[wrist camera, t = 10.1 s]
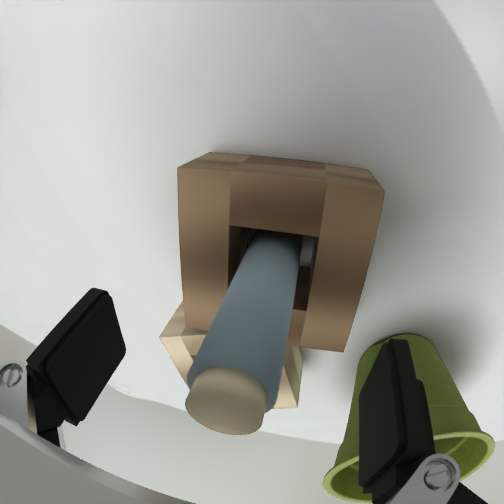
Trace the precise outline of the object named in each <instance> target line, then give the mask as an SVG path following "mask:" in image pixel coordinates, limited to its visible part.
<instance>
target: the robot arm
mask: <svg viewBox="0 0 504 504" xmlns="http://www.w3.org/2000/svg"><path fill="white" fill-rule="evenodd" d="M125 353H126V347H125V343H124V340H123V337H122V333H121V330H120V326H119V323H118V319H117V315H116V312H115V308H114V304H113V300H112V297H111V296H109V293H108V292H107V291H105V290H101V289H97V288H91V289H90V290H89V291H88V292H87V293H86V294H85V295H84V296H83V297H82V298H81V299H80V300H79V302H78V303H77V304H76V305H75V306H74V307H73V308H72V309H71V310H70V311H69V312H68V313H67V314H66V315H65V317H64V318H63V319H62V320H61V321H60V322H59V323H58V324H57V325H56V326H55V328H54V329H53V330H52V331H51V332H50V333H49V334H48V335H47V337H46V338H45V339H44V340H43V341H42V342H41V343H40V345H39V346H38V347H37V348H36V349H35V350H34V352H33V353H32V354H31V355H30V356H29V357H28V359H27V360H26V361H27V363H28V365H27V366H26V367H25V365H24V364H23V363H22V362H21V361H17V360H11V361H8V362H5V363H4V364H2V365H1V366H0V504H195V503H191V502H188V501H184V500H181V499H178V498H174V497H171V496H168V495H165V494H162V493H159V492H156V491H153V490H151V489H148V488H145V487H143V486H140V485H137V484H135V483H132V482H130V481H127V480H125V479H122V478H120V477H118V476H115V475H113V474H111V473H109V472H106V471H104V470H102V469H100V468H98V467H96V466H94V465H91V464H90V463H88V462H86V461H84V460H81V459H80V458H78V457H76V456H74V455H72V454H70V453H68V452H67V451H66V446H65V441H64V435H63V429H62V423H63V421H64V420H65V421H67V422H69V423H71V424H73V425H75V426H77V425H78V423H79V422H80V421H83V420H84V419H85V417H86V416H87V414H88V412H89V411H90V409H91V408H92V406H93V405H94V403H95V401H96V400H97V398H98V396H99V395H100V393H101V392H102V390H103V389H104V387H105V385H106V384H107V382H108V381H109V379H110V378H111V376H112V374H113V373H114V371H115V370H116V368H117V367H118V365H119V364H120V362H121V360H122V359H123V357H124V356H125ZM460 474H461V473H460V469H459V466H458V464H457V462H456V461H455V460H454V459H453V458H452V457H450V456H448V455H446V454H436V451H435V444H434V437H433V431H432V425H431V419H430V413H429V408H428V402H427V397H426V392H425V388H424V384H423V382H422V381H421V380H419V379H417V378H416V373H415V369H414V364H413V360H412V355H411V351H410V347H409V343H408V341H407V340H405V339H393V338H390V339H389V341H388V342H384V343H383V344H382V346H381V348H380V351H379V353H378V355H377V357H376V360H375V362H374V364H373V366H372V368H371V371H370V373H369V375H368V377H367V379H366V381H365V383H364V385H363V387H362V389H361V391H360V394H359V475H358V484H359V486H360V487H363V494H372V503H373V504H488V503H486V502H485V501H484V500H482V499H481V498H480V497H479V496H477V495H476V494H475V493H473V492H472V491H471V490H469V489H468V488H467V487H466V486H464V485H463V484H462V483H460V482H459V481H460Z"/></svg>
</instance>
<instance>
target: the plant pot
mask: <svg viewBox="0 0 504 504" xmlns="http://www.w3.org/2000/svg"><path fill="white" fill-rule="evenodd" d="M390 338H393V339H405V340H407V341H408V343H409V347H410V351H411V355H412V360H413V364H414V369H415V373H416V378H417V379H419V380H421V381H422V382H423V384H424V388H425V392H426V397H427V402H428V408H429V413H430V419H431V425H432V431H433V437H434V444H435V451H436V454H446V455H448V456H450V457H452V458H453V459H454V460H455V461H456V462H457V464H458V466H459V469H460V473H461V474H460V481H462V480H463V479H465V478H467V477H468V476H469V475H471V474H472V473H474V472H475V471H476V470H478V469H479V468H480V467H481V466H482V465H483V464H484V463H486V461H487V460H488V459H489V458H490V456H491V455H492V453H493V451H494V446H495V444H494V440H493V438H492V437H491V436H490V435H489V434H487V433H485V432H483V431H481V429H480V427H479V425H478V423H477V421H476V419H475V417H474V415H473V414H472V413H471V412H470V411H469V410H468V408H467V406H466V404H465V402H464V400H463V398H462V396H461V395H460V393H459V391H458V389H457V387H456V385H455V383H454V381H453V379H452V377H451V376H450V374H449V372H448V370H447V368H446V366H445V365H444V363H443V361H442V359H441V357H440V355H439V354H438V352H437V350H436V348H435V347H434V346H433V344H432V343H431V342H430V341H429V340H427V339H425V338H423V337H421V336H418V335H410V334H404V335H397V336H393V337H390ZM390 338H389V339H390ZM389 339H387V340H386V341H384V342H388V341H389ZM384 342H382V343H380V344H377V345H373V346H372V347H371V348H370V349H368V350H367V351H366V352H365V354H364V355H363V356H362V358H361V359H360V362H359V364H358V369H357V375H356V381H355V387H354V393H353V398H352V404H351V409H350V414H349V419H348V423H347V428H346V432H345V436H344V440H343V443H342V444H341V446H340V448H339V451H338V454H337V458H336V461H335V465H334V467H333V468H332V469H331V470H329V471H328V473H327V474H326V475H325V477H324V480H323V486H324V488H325V490H326V491H327V492H328V493H330V494H331V495H332V496H335V497H337V498H340V499H343V500H346V501H351V502H360V503H372V494H363V487H360V486H359V484H358V475H359V394H360V391H361V389H362V387H363V385H364V383H365V381H366V379H367V377H368V375H369V373H370V371H371V368H372V366H373V364H374V362H375V360H376V357H377V355H378V353H379V351H380V348H381V346H382V344H383V343H384ZM460 481H459V482H460Z"/></svg>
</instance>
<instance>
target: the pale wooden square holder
mask: <svg viewBox="0 0 504 504" xmlns="http://www.w3.org/2000/svg"><path fill="white" fill-rule="evenodd" d="M207 332H208V331H205V330H200V329H196V328H191V327H186V326H185V315H184V303H183V301H182V303H181V304H180V306H179V307H178V309H177V310H176V312H175V313H174V315H173V316H172V318H171V319H170V321H169V323H168V324H167V326H166V327H165V329H164V330H163V332H162V333H161V335H160V336H159V338H160V340H161V342H162V344H163V346H164V347H165V349H166V351H167V353H168V354H169V356H170V358H171V359H172V361H173V363H174V365H175V366H176V368H177V370H178V371H179V373H180V375H181V376H182V378H183V379H184V381H185V383H186V384H187V374H188V371H189V369H190V367H191V365H192V363H193V361H194V359H195V357H196V355H197V352H198V350H199V348H200V346H201V344H202V342H203V340H204V338H205V336H206V334H207ZM302 367H303V360H302V356H301V352H300V349H299V347H298V346H291V345H287V346H286V352H285V358H284V364H283V369H282V375H281V381H280V386H279V391H278V397H277V401H276V404H275V405H274V407H273V408H272V409H282V408H298V400H299V393H300V384H301V376H302ZM187 386H188V384H187ZM188 388H189V386H188Z"/></svg>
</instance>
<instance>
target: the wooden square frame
mask: <svg viewBox="0 0 504 504" xmlns="http://www.w3.org/2000/svg"><path fill="white" fill-rule="evenodd" d="M177 181H178V219H179V242H180V261H181V276H182V290H183V303H184V315H185V326H186V327H191V328H196V329H200V330H205V331H208V330H209V327H210V325H211V323H212V321H213V319H214V317H215V315H216V313H217V311H218V309H219V307H220V305H221V303H222V300H223V298H224V296H225V294H226V292H227V290H228V288H229V286H230V284H231V282H232V280H233V278H234V276H235V274H236V271H237V269H238V267H239V265H240V263H241V261H242V259H243V257H244V255H245V253H246V251H247V233H248V228H256V229H264V230H272V231H279V232H287V233H294V234H301V235H309V236H315V240H314V247H313V253H312V260H311V266H310V268H306V267H299V268H298V275H297V282H296V289H295V296H294V303H293V309H292V316H291V322H290V328H289V334H288V340H287V345H291V346H298V347H305V348H312V349H320V350H328V351H336V352H344V349H345V346H346V343H347V340H348V337H349V334H350V330H351V327H352V324H353V321H354V317H355V314H356V311H357V307H358V304H359V300H360V297H361V293H362V289H363V286H364V282H365V278H366V274H367V271H368V267H369V263H370V259H371V254H372V250H373V246H374V242H375V237H376V233H377V228H378V223H379V219H380V214H381V209H382V204H383V198H384V193H385V191H384V189H383V188H382V187H381V186H380V184H379V183H378V182H377V180H376V179H375V178H374V176H373V175H372V174H371V173H370V171H369V170H364V169H358V168H352V167H346V166H339V165H332V164H325V163H318V162H310V161H302V160H293V159H284V158H275V157H265V156H254V155H241V154H228V153H211V152H209V153H207V154H205V155H203V156H201V157H198V158H196V159H194V160H192V161H190V162H188V163H186V164H184V165H182V166H180V167H178V168H177Z"/></svg>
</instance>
